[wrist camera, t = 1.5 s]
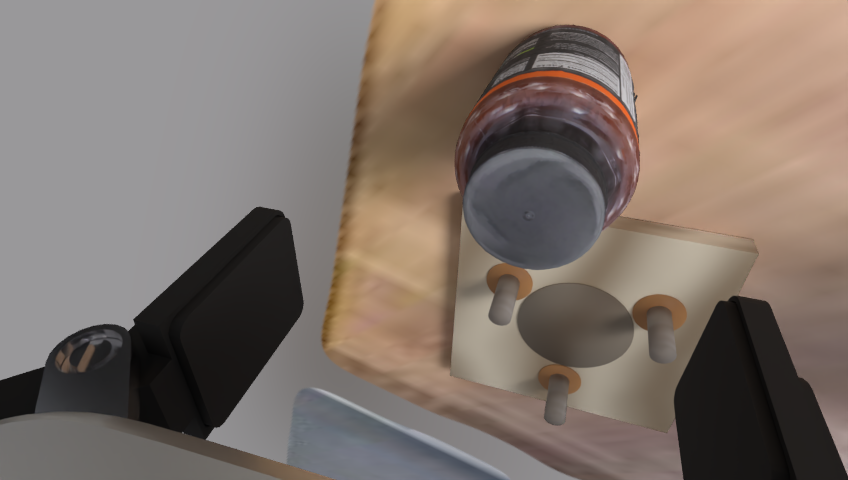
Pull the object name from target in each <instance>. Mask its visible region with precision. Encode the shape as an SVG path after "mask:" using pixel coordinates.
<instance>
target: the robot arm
mask: <svg viewBox="0 0 848 480" xmlns="http://www.w3.org/2000/svg"><path fill="white" fill-rule="evenodd" d="M303 304H304V303H303V296H302V290H301V283H300V277H299V271H298V266H297V260H296V253H295V247H294V241H293V235H292V229H291V224H290V221H289V219H288V218H285V216H284V214H283V212H281V211H279V210H274V209H268V208H263V207H256V208H255V209H253V210H252V211H251V212H250V213H249V214H248V215H247V216H246V217H245V218H243V219H242V220H241V221H240V222H239V223H238V224H237V225H236V226H235V227H234V228H232V229H231V230H230V231H229V232H228V233H227V234H226V235H225V236H224V237H223V238H222V239H221V240H219V241H218V242H217V243H216V244H215V245H214V246H213V247H212V248H211V249H210V250H208V251H207V252H206V253H205V254H204V255H203V256H202V257H201V258H200V259H199V260H198V261H197V262H195V263H194V264H193V265H192V266H191V267H190V268H189V269H188V270H187V271H186V272H184V273H183V274H182V275H181V276H180V277H179V278H178V279H177V280H176V281H175V282H174V283H172V284H171V285H170V286H169V287H168V288H167V289H166V290H165V291H164V292H163V293H162V294H160V295H159V296H158V297H157V298H156V299H155V300H154V301H153V302H152V303H151V304H150V305H149V306H147V307H146V308H145V309H144V310H143V311H142V312H141V313H140V314H139V315H138V316H137V317H135V318H134V319H133V320H134V323H135V325H134V326H133V327H132V328H131V329H130V330H129V331H127V330H126V329H125V328H124V327H121V326H118V325H113V324H103V325H96V326H91V327H88V328H85V329H82V330H80V331H78V332H76V333H74V334H72V335H70V336H68V337H67V338H66V339H64V340H63V341H61V342H60V343H59V344H58V345H57V346H56V347H55V348H54V349H53V350H52V352H51V353H50V354H49V356H48V359H47V361H46V364H45V367H42V368H39V369H36V370H32V371H29V372H26V373H23V374H19V375H16V376H13V377H10V378H7V379H3V380H0V480H335V479H332V478H328V477H325V476H322V475H319V474H316V473H312V472H309V471H306V470H303V469H299V468H296V467H293V466H289V465H286V464H283V463H280V462H276V461H273V460H269V459H266V458H263V457H260V456H257V455H253V454H250V453H247V452H243V451H240V450H237V449H234V448H230V447H227V446H224V445H220V444H217V443H214V442H210V441H207V440H206V438H207V437H208V436H209V434H210V433H211V431H212V430H213V429H214V427H216V428H217V427H220V426H221V425H222V424H223V423H224V422H225V421H226V419H227V418H228V417H229V415H230V414H231V412H232V411H233V410H234V408H235V407H236V405H237V404H238V403H239V401H240V400H241V398H242V397H243V395H244V394H245V393H246V391H247V390H248V388H249V387H250V386H251V384H252V383H253V381H254V380H255V379H256V377H257V376H258V374H259V373H260V372H261V370H262V369H263V367H264V366H265V365H266V363H267V362H268V360H269V359H270V357H271V356H272V355H273V353H274V352H275V350H276V349H277V347H278V346H279V345H280V343H281V342H282V341H283V339H284V338H285V336H286V335H287V334H288V332H289V331H290V329H291V328H292V327H293V325H294V324H295V322H296V321H297V320H298V318H299V317H300V315H301V313H302V309H303ZM674 410H675V418H676V425H677V433H678V441H679V448H680V456H681V463H682V471H683V479H684V480H848V475H847V473H846V471H845V468H844V466H843V463H842V461H841V458H840V456H839V453H838V451H837V449H836V446H835V444H834V441H833V439H832V436H831V434H830V432H829V429H828V427H827V424H826V422H825V419H824V417H823V415H822V412H821V410H820V407H819V405H818V402H817V400H816V397H815V395H814V393H813V390H812V388H811V387H810V385H809V383H808V382H807V381H805V380H804V379H803V378H798V375H797V373H796V370H795V368H794V365H793V363H792V360H791V357H790V355H789V352H788V350H787V347H786V345H785V342H784V340H783V337H782V335H781V332H780V329H779V327H778V324H777V322H776V319H775V317H774V314H773V312H772V309H771V307H770V305H769V303H768V302H766V301H762V300H757V299H751V298H746V297H741V296H732V297H730V298H729V300H728V301H722V300H721V301H719V302H718V303H717V305H716V306H715V309H714V311H713V313H712V315H711V317H710V319H709V321H708V323H707V325H706V327H705V329H704V331H703V333H702V335H701V337H700V339H699V341H698V343H697V346H696V348H695V350H694V352H693V354H692V356H691V358H690V360H689V362H688V364H687V366H686V368H685V370H684V372H683V374H682V376H681V378H680V380H679V383H678V385H677V387H676V389H675V394H674ZM182 432H184V434H183V433H182ZM186 434H187V435H186Z"/></svg>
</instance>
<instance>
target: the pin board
mask: <svg viewBox="0 0 848 480" xmlns="http://www.w3.org/2000/svg"><path fill="white" fill-rule="evenodd" d="M758 254H759V253H758V251H757V248H756V245H755V243H754V240H752V239H747V238H741V237H735V236H729V235H724V234H718V233H712V232H706V231H700V230H695V229H689V228H683V227H677V226H671V225H666V224H660V223H654V222H648V221H643V220H637V219H631V218H625V217H618V218H617V219H616V220H615V221H614V222H613V223H612V224H611V225H610V226H609V227H608V228H606V229H605V230H604V231H602V232H601V234H600V236H599V238H598V239H597V241H596V242H595V243H594V245H593V246H592V247H591V248H590V249H589V251H588V252H586V253H585V254H584V255H583V256H582V257H580V258H578V259H577V260H575V261H573V262H571V263H569V264H566V265H563V266H561V267H558V268H552V269H545V270H531V269H523V268H519V267H516V266H512V265H509V264H507V263H505V262H502V261H500V260H499V259H496V258H495V257H493V256H492V255H490V254H489V253H488V252H486V251H485V250H484V249H483V248H482V247H481V246H480V245H479V244H478V243H477V242H476V241H475V239H474V238H473V236H472V235H471V233H470V231H469V229H468V227H467V224H466V222H465V219H464V213H463V209H462V223H461V236H460V249H459V263H458V276H457V290H456V303H455V316H454V330H453V343H452V357H451V370H450V376H453V377H457V378H461V379H465V380H468V381H472V382H476V383H480V384H483V385H487V386H491V387H495V388H499V389H502V390H506V391H510V392H514V393H517V394H521V395H525V396H529V397H532V398H536V399H540V400H544V401H546V407H545V414H544V419H545V420H546V421H547V422H548V423H549V424H552V425H562V424H564V423H565V418H566V409H567V407H570V408H574V409H577V410H581V411H585V412H589V413H592V414H596V415H600V416H604V417H608V418H611V419H615V420H619V421H623V422H626V423H630V424H634V425H638V426H641V427H645V428H649V429H653V430H656V431H660V432H664V433H667V432H668V430H669V428H670V426H671V425H672V423H673V421H674V419H675V410H674V394H675V389H676V387H677V385H678V383H679V380H680V378H681V376H682V374H683V372H684V370H685V368H686V366H687V364H688V362H689V360H690V358H691V356H692V354H693V352H694V350H695V348H696V346H697V343H698V341H699V339H700V337H701V335H702V333H703V331H704V329H705V327H706V325H707V323H708V321H709V319H710V317H711V315H712V313H713V311H714V309H715V306H716V305H717V303H718V302H719V301H721V300H722V301H728V300H729V298H730V297H732V296H738V294H739V292H740V290H741V288H742V286H743V284H744V282H745V280H746V278H747V276H748V274H749V272H750V270H751V268H752V266H753V264H754V262H755V260H756V258H757V256H758Z"/></svg>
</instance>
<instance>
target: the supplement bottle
mask: <svg viewBox="0 0 848 480" xmlns="http://www.w3.org/2000/svg"><path fill="white" fill-rule="evenodd" d="M633 91H634V86H633V81H632V77H631V73H630V70H629V67H628V63H627V62H626V60H625V58H624V55H623V54H622V53H621V51H620V50H619V48H618V47H617V46H616V45H615V44H614V43H613V42H612V41H611V40H610V39H609V38H607V37H606V36H604V35H603V34H601V33H599V32H597V31H595V30H592V29H590V28H587V27H583V26H576V25H559V26H553V27H550V28H547V29H543V30H541V31H539V32H536V33H534V34H533V35H531V36H529V37H528V38H526V39H525V40H524V41H522V42H521V43H520V44H519V45H518V46H517V47H516V48H515V49H514V50H513V51H512V52H511V53H510V54H509V55H508V56H507V58H506V59H505V61H504V62H503V64H502V65H501V67H500V68H499V70H498V71H497V73H496V74H495V76H494V77H493V79H492V80H491V82H490V83H489V85H488V86H487V88H486V89H485V91H484V93H483V94H482V96H481V97H480V99H479V100H478V102H477V103H476V105H475V106H474V108H473V110H472V111H471V113H470V114H469V116H468V118H467V119H466V121H465V123H464V125H463V128H462V130H461V133H460V136H459V139H458V142H457V146H456V152H455V174H456V180H457V183H458V187H459V190H460V192H461V195H462V197H463V213H464V219H465V222H466V224H467V227H468V229H469V231H470V233H471V235H472V236H473V238H474V239H475V241H476V242H477V243H478V244H479V245H480V246H481V247H482V248H483V249H484V250H485V251H486V252H488V253H489V254H490V255H492V256H493V257H495V258H496V259H499V260H500V261H502V262H505V263H507V264H509V265H512V266H516V267H519V268H523V269H531V270H545V269H552V268H558V267H561V266H563V265H566V264H569V263H571V262H573V261H575V260H577V259H578V258H580V257H582V256H583V255H584V254H585V253H586V252H588V251H589V249H590V248H591V247H592V246H593V245H594V243H595V242H596V241H597V239H598V238H599V236H600V234H601V232H602V231H604V230H605V229H606V228H608V227H609V226H610V225H611V224H612V223H613V222H614V221H615V220H616V219H617V218H618V217H619V216H620V215H621V213H622V212H623V211H624V210H625V208H626V207H627V205H628V203H629V202H630V200H631V198H632V196H633V194H634V192H635V189H636V186H637V182H638V176H639V171H640V152H639V135H638V131H637V129H638V127H637V114H636V107H635V101H636V99H637V95H636V97H634V96H635V93H634V92H633Z"/></svg>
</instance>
